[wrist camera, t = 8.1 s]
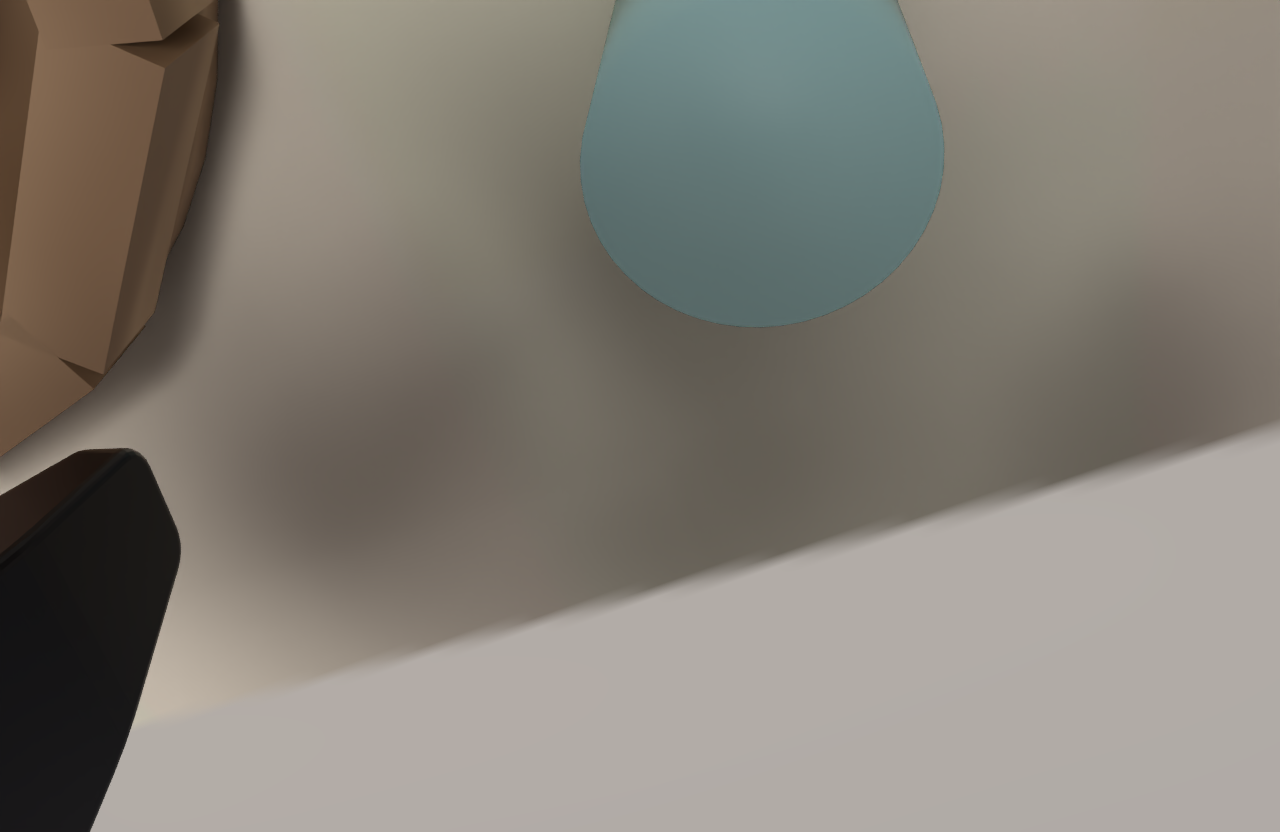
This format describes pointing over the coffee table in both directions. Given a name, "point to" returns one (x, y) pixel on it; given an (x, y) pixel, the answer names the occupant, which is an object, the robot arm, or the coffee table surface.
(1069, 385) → the coffee table surface
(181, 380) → the coffee table surface
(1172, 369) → the coffee table surface
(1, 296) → the ring tray
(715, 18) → the bead teal
